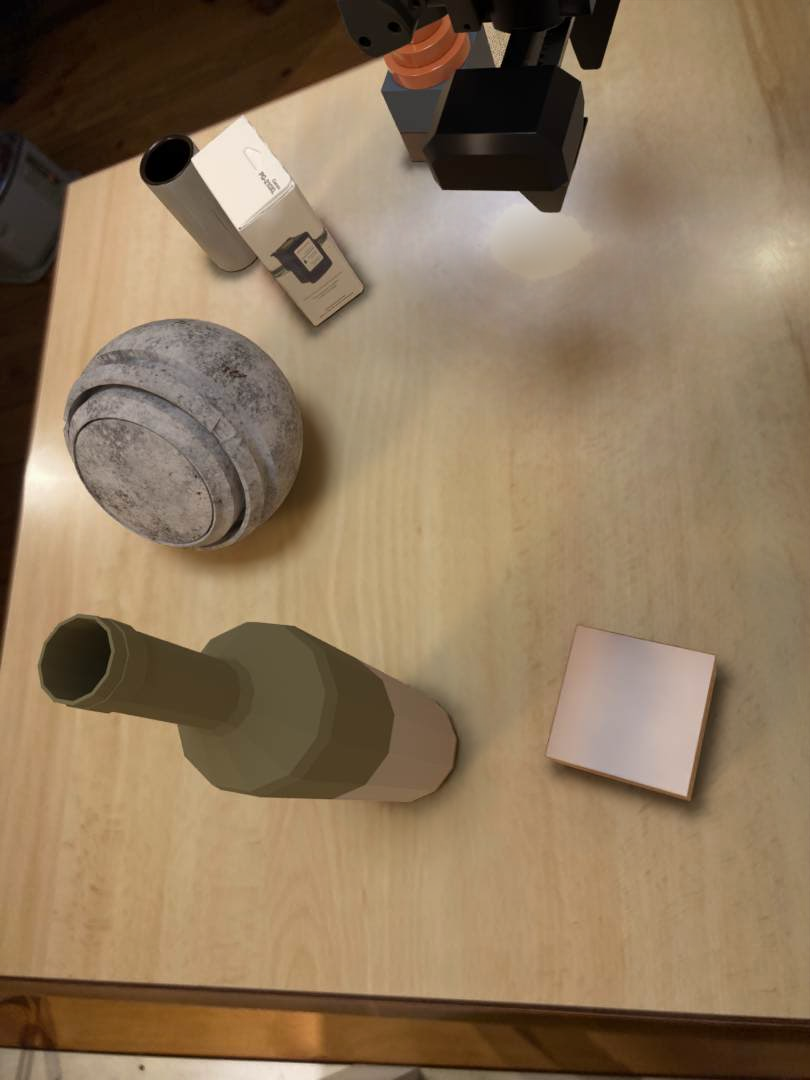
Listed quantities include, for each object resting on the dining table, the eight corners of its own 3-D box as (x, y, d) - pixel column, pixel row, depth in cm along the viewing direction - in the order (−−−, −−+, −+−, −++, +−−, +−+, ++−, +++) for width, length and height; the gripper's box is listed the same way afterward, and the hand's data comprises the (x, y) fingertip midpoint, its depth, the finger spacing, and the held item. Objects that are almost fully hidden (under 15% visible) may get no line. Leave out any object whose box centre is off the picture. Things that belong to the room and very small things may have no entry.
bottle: (354, 697, 53) (-13, 565, 26) (461, 681, 51) (181, 519, 24) (362, 813, 50) (-35, 798, 24) (474, 801, 49) (180, 769, 22)
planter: (209, 242, 70) (132, 153, 61) (255, 215, 69) (185, 121, 60) (222, 281, 68) (145, 196, 59) (270, 254, 67) (200, 163, 58)
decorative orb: (135, 558, 62) (-23, 484, 49) (189, 383, 66) (55, 269, 52) (311, 584, 57) (187, 508, 43) (359, 391, 60) (258, 265, 47)
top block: (495, 64, 61) (481, 16, 58) (474, 131, 60) (459, 88, 57) (421, 67, 64) (403, 22, 60) (398, 133, 62) (380, 91, 59)
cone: (481, 17, 58) (461, -50, 53) (458, 88, 57) (436, 25, 52) (403, 23, 60) (378, -41, 56) (379, 91, 59) (351, 31, 54)
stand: (716, 674, 46) (716, 654, 41) (690, 801, 45) (687, 798, 39) (591, 645, 49) (576, 623, 44) (562, 764, 48) (543, 756, 42)
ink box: (267, 261, 67) (184, 155, 56) (317, 222, 66) (242, 109, 56) (314, 329, 63) (235, 230, 53) (367, 289, 63) (298, 181, 52)
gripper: (385, -308, 36) (476, 9, 50) (247, 41, 32) (388, 280, 46) (648, -372, 32) (667, -6, 46) (526, 22, 28) (588, 292, 42)
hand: (571, 137), depth 45 cm, fingers open, 9 cm apart
